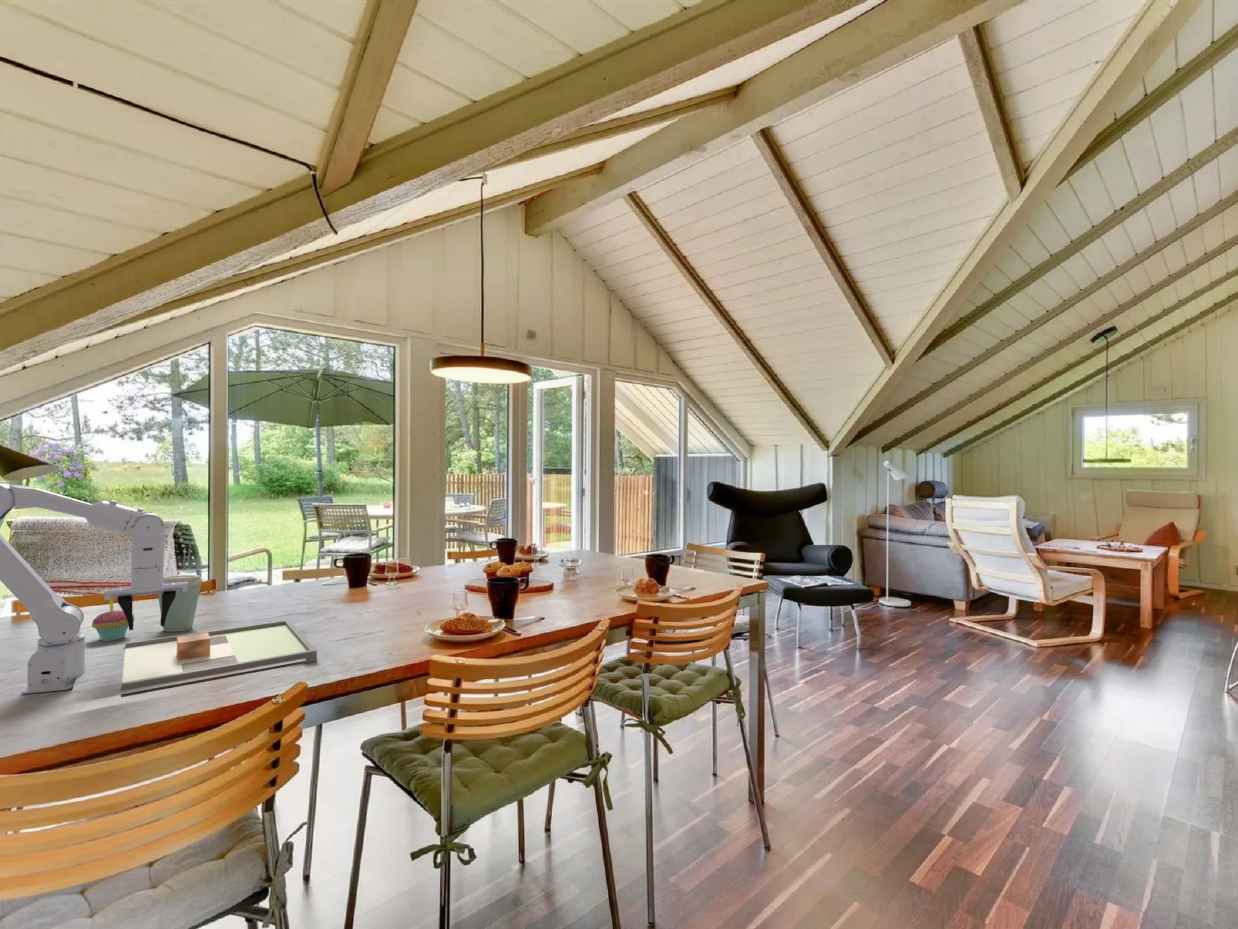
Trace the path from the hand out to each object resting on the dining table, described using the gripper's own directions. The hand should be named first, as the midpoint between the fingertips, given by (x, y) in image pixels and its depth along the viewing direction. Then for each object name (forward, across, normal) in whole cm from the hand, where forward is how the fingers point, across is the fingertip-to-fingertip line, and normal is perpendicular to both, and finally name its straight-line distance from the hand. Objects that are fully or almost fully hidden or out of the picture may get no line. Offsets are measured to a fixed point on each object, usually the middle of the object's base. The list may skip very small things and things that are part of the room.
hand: (147, 627), depth 133 cm
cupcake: (+10, +7, -35) cm, 37 cm away
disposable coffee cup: (+10, -7, -35) cm, 37 cm away
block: (+8, -8, 0) cm, 12 cm away
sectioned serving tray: (+9, -13, 0) cm, 16 cm away
